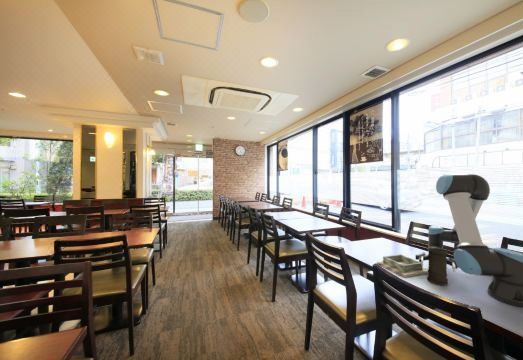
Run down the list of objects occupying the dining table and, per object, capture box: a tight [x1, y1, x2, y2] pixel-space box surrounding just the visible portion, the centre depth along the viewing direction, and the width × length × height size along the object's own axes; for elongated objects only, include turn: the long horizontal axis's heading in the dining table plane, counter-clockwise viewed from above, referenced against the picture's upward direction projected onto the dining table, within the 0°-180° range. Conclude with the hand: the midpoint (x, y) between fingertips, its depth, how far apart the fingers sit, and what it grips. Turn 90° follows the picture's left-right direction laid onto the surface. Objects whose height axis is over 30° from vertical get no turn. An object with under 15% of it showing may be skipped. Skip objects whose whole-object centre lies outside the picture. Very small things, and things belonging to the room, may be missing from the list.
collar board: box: [376, 253, 428, 278], centre depth 136 cm, size 20×20×6 cm
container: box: [426, 247, 449, 286], centre depth 118 cm, size 9×9×18 cm
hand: (437, 265), depth 116 cm, fingers open, 13 cm apart
